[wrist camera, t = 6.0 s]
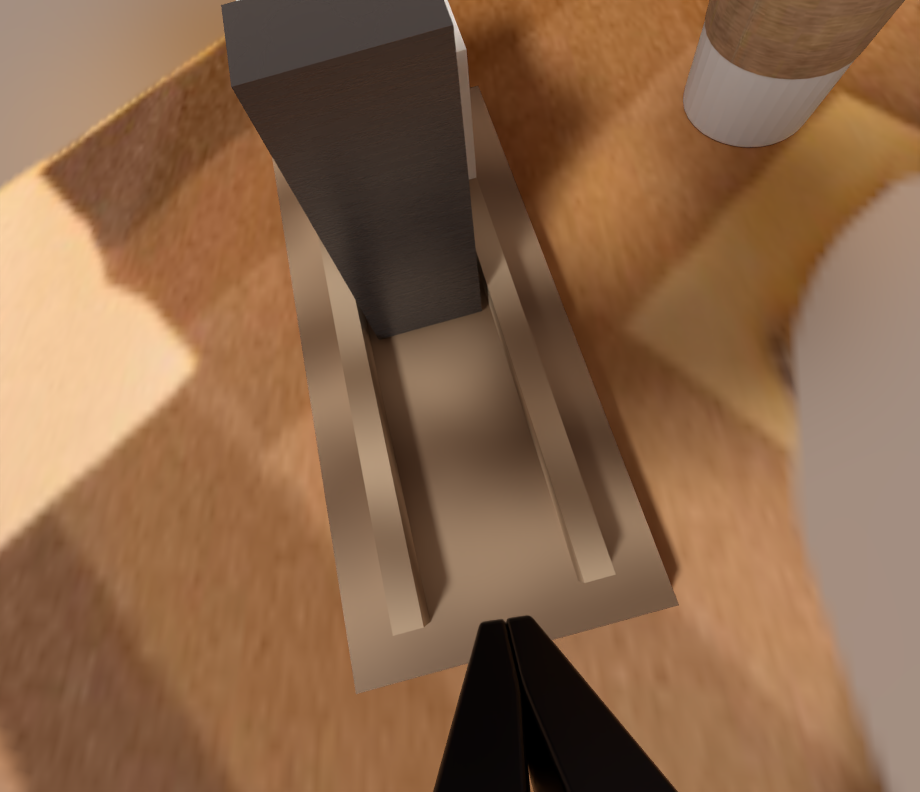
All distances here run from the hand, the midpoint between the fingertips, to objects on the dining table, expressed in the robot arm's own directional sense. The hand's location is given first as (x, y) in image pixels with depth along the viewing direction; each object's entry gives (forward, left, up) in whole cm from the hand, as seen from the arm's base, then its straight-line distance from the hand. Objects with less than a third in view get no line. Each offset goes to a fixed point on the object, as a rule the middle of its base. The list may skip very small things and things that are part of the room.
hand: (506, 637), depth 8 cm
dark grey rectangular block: (+15, 0, -9) cm, 18 cm away
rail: (+11, 0, -10) cm, 15 cm away
